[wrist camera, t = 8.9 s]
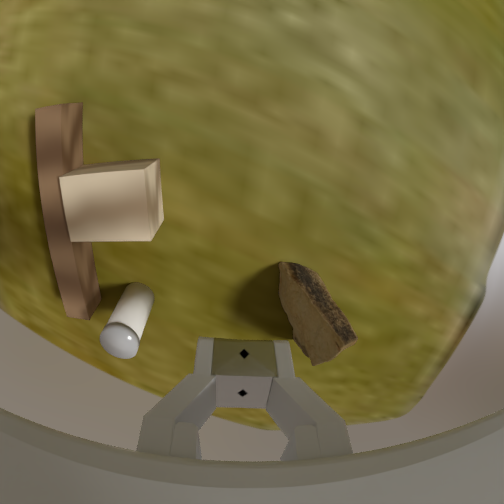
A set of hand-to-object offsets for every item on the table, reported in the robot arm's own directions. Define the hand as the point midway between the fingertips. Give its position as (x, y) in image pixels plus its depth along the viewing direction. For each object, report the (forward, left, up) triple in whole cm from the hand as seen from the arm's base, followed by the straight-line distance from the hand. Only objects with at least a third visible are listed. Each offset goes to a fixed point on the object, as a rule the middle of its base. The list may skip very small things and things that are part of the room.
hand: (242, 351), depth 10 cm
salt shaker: (+12, -11, -20) cm, 25 cm away
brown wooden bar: (+2, -17, -20) cm, 26 cm away
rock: (+12, +7, -20) cm, 25 cm away
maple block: (0, -11, -20) cm, 23 cm away
